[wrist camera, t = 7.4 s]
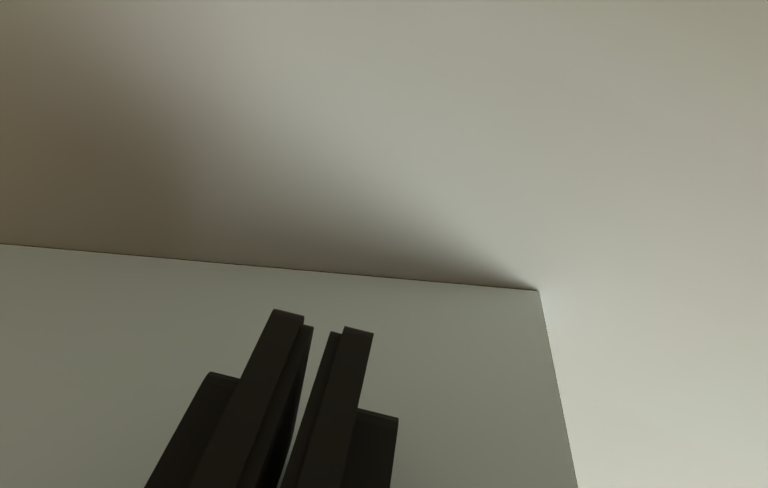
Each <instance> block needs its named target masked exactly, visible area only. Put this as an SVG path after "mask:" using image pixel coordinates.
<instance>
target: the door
mask: <svg viewBox="0 0 768 488" xmlns="http://www.w3.org/2000/svg"><path fill="white" fill-rule="evenodd" d="M273 309H279V310H283V311H287V312H291V313H295V314H299V315H303V316H304V324H305V325H309V326H313V327H314V331H313V336H312V341H311V346H310V352H309V357H308V362H307V367H306V372H305V377H304V382H303V387H302V392H301V398H300V403H299V408H298V413H297V418H296V423H295V428H294V433H293V437H292V441H291V445H290V448H289V451H288V454H287V458H286V461H285V464H284V467H283V470H282V473H281V476H280V479H279V482H278V485H277V488H280V486H281V483H282V480H283V477H284V474H285V470H286V467H287V464H288V461H289V458H290V455H291V452H292V449H293V446H294V443H295V439H296V436H297V433H298V430H299V427H300V424H301V421H302V418H303V415H304V412H305V408H306V405H307V402H308V399H309V396H310V393H311V390H312V387H313V384H314V381H315V377H316V374H317V371H318V368H319V365H320V362H321V359H322V356H323V353H324V350H325V346H326V343H327V340H328V337H329V334H330V331H333V332H337V333H341V334H342V332H343V329H344V326H347V327H351V328H355V329H359V330H363V331H367V332H371V333H374V336H373V341H372V345H371V350H370V354H369V359H368V363H367V368H366V372H365V377H364V381H363V386H362V390H361V395H360V399H359V404H358V408H361V409H365V410H369V411H373V412H377V413H381V414H385V415H389V416H393V417H397V418H399V424H398V433H397V440H396V447H395V454H394V462H393V469H392V476H391V483H390V488H578V485H577V480H576V475H575V470H574V465H573V460H572V455H571V450H570V445H569V440H568V434H567V429H566V424H565V419H564V414H563V409H562V404H561V399H560V394H559V389H558V384H557V379H556V374H555V369H554V364H553V359H552V354H551V349H550V344H549V339H548V334H547V329H546V324H545V319H544V314H543V309H542V304H541V299H540V294H539V291H532V290H520V289H509V288H497V287H486V286H474V285H463V284H452V283H440V282H429V281H417V280H406V279H394V278H383V277H372V276H360V275H349V274H337V273H326V272H314V271H303V270H292V269H280V268H269V267H257V266H246V265H234V264H223V263H212V262H200V261H189V260H177V259H166V258H154V257H143V256H132V255H120V254H109V253H97V252H86V251H74V250H63V249H52V248H40V247H29V246H17V245H6V244H0V488H144V487H145V485H146V483H147V481H148V479H149V478H150V476H151V474H152V472H153V470H154V468H155V467H156V465H157V463H158V461H159V459H160V458H161V456H162V454H163V452H164V450H165V448H166V447H167V445H168V443H169V441H170V439H171V438H172V436H173V434H174V432H175V430H176V429H177V427H178V425H179V423H180V421H181V419H182V418H183V416H184V414H185V412H186V410H187V409H188V407H189V405H190V403H191V401H192V399H193V398H194V396H195V394H196V392H197V390H198V389H199V387H200V385H201V383H202V381H203V380H204V378H205V377H206V375H207V374H208V373H209V372H210V371H211V372H216V373H220V374H224V375H228V376H232V377H236V378H240V377H241V375H242V373H243V371H244V369H245V367H246V365H247V363H248V361H249V358H250V356H251V354H252V352H253V350H254V348H255V346H256V344H257V342H258V340H259V337H260V335H261V333H262V331H263V329H264V327H265V325H266V323H267V321H268V319H269V316H270V314H271V312H272V311H273Z"/></svg>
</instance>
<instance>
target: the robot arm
mask: <svg viewBox="0 0 768 488" xmlns="http://www.w3.org/2000/svg"><path fill="white" fill-rule="evenodd" d="M313 331H314V327H313V326H309V325H305V324H304V316H303V315H299V314H295V313H291V312H287V311H283V310H279V309H273V311H272V312H271V314H270V316H269V319H268V321H267V323H266V325H265V327H264V329H263V331H262V333H261V335H260V337H259V340H258V342H257V344H256V346H255V348H254V350H253V352H252V354H251V356H250V358H249V361H248V363H247V365H246V367H245V369H244V371H243V373H242V375H241V377H240V378H236V377H232V376H228V375H224V374H220V373H216V372H211V371H210V372H209V373H208V374H207V375H206V377H205V378H204V380H203V381H202V383H201V385H200V387H199V389H198V390H197V392H196V394H195V396H194V398H193V399H192V401H191V403H190V405H189V407H188V409H187V410H186V412H185V414H184V416H183V418H182V419H181V421H180V423H179V425H178V427H177V429H176V430H175V432H174V434H173V436H172V438H171V439H170V441H169V443H168V445H167V447H166V448H165V450H164V452H163V454H162V456H161V458H160V459H159V461H158V463H157V465H156V467H155V468H154V470H153V472H152V474H151V476H150V478H149V479H148V481H147V483H146V485H145V487H144V488H277V485H278V482H279V479H280V476H281V473H282V470H283V467H284V464H285V461H286V458H287V454H288V451H289V448H290V445H291V441H292V437H293V433H294V428H295V423H296V418H297V413H298V408H299V403H300V398H301V392H302V387H303V382H304V377H305V372H306V367H307V362H308V357H309V352H310V346H311V341H312V336H313ZM373 336H374V333H371V332H367V331H363V330H359V329H355V328H351V327H347V326H344V329H343V332H342V334H341V333H337V332H333V331H330V334H329V337H328V340H327V343H326V346H325V350H324V353H323V356H322V359H321V362H320V365H319V368H318V371H317V374H316V377H315V381H314V384H313V387H312V390H311V393H310V396H309V399H308V402H307V405H306V408H305V412H304V415H303V418H302V421H301V424H300V427H299V430H298V433H297V436H296V439H295V443H294V446H293V449H292V452H291V455H290V458H289V461H288V464H287V467H286V470H285V474H284V477H283V480H282V483H281V486H280V488H390V483H391V476H392V469H393V462H394V454H395V447H396V440H397V433H398V424H399V418H397V417H393V416H389V415H385V414H381V413H377V412H373V411H369V410H365V409H361V408H358V404H359V399H360V395H361V390H362V386H363V381H364V377H365V372H366V368H367V363H368V359H369V354H370V350H371V345H372V341H373Z"/></svg>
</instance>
